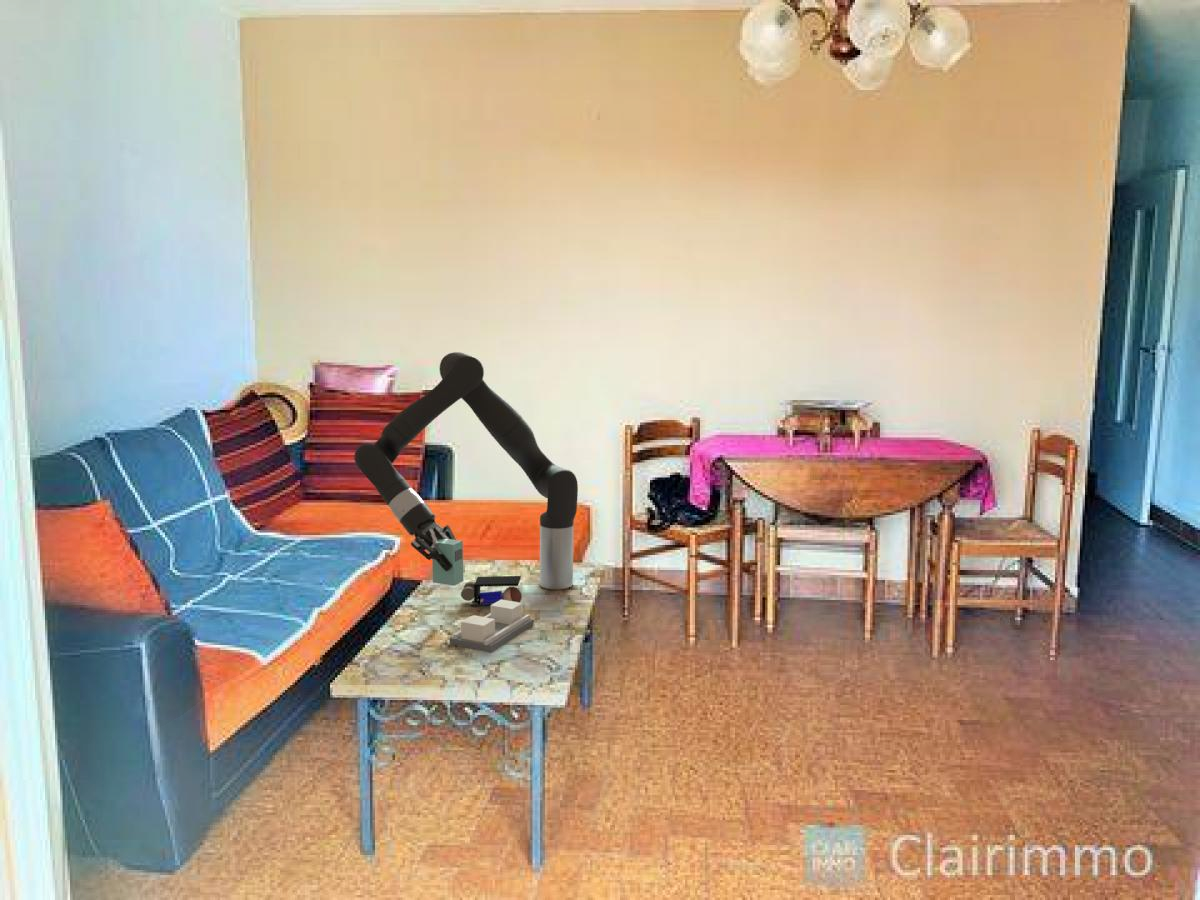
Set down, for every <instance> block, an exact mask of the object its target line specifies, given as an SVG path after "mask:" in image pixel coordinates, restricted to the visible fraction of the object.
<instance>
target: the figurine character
mask: <svg viewBox="0 0 1200 900" xmlns="http://www.w3.org/2000/svg"><path fill="white" fill-rule="evenodd" d="M521 579H522V578H521V575H504V576H503V575H499V576H497V575H495V576H477V577H476V580H475V582H474V581H468V582H465V584H464V586H463V589H462V590H461V593H460V596H461V598H462V599H463V600H465V602H466V601H467V602H469V601H470V602H471V603H472V604H470V605H469V607H480V606H483V605H492V604H494V603H496V602H497V601H499V600H501V599H502V600H508V601H514V602H519V603H521V601H522V597H523V596H522V592H521V590H520V589H519V584H520V581H521ZM481 587H483V588H485V587H507V588H506V589H504V591H503V592H502V591H501V590H498V591H497V590H496V591H487V592H485V591H483V592H481Z"/></svg>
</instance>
